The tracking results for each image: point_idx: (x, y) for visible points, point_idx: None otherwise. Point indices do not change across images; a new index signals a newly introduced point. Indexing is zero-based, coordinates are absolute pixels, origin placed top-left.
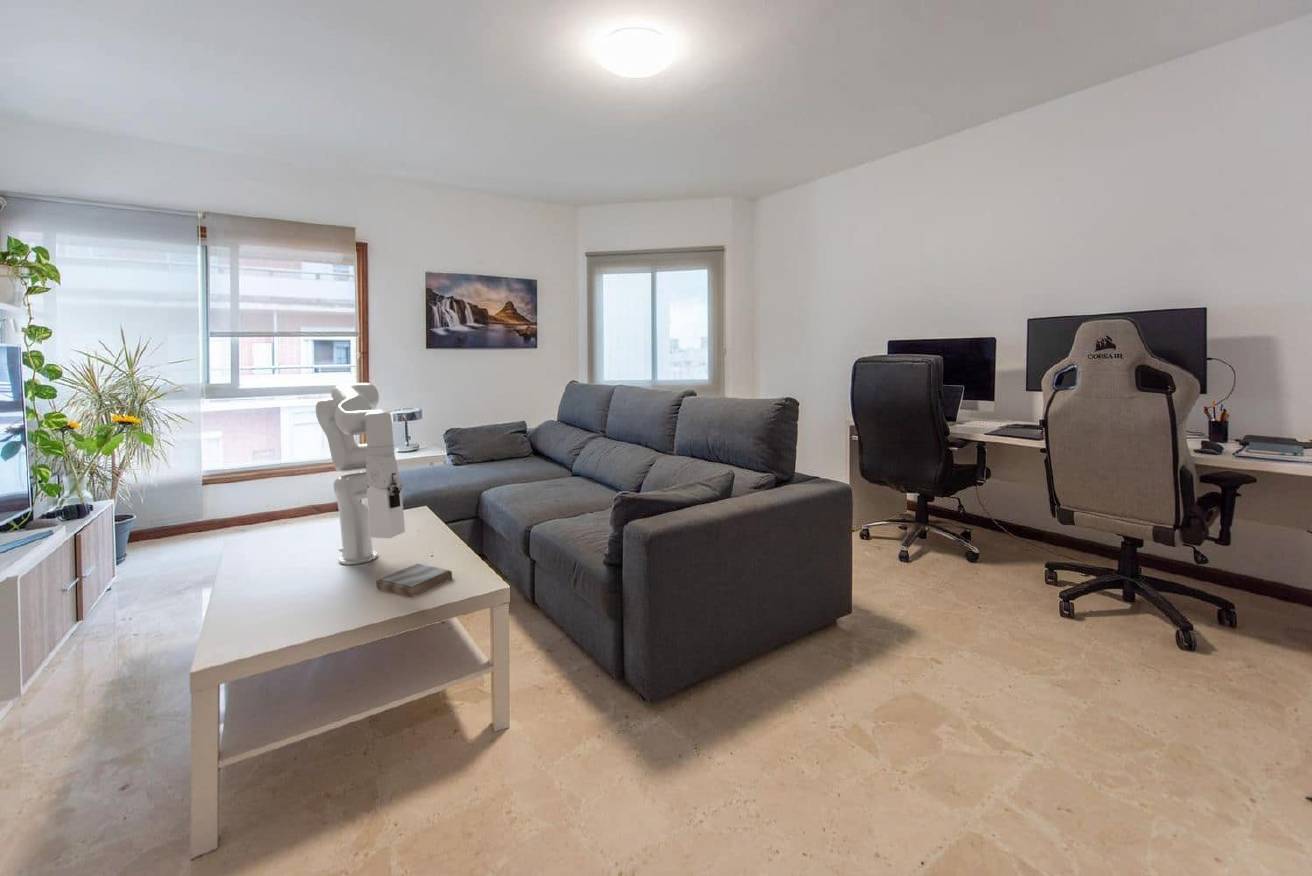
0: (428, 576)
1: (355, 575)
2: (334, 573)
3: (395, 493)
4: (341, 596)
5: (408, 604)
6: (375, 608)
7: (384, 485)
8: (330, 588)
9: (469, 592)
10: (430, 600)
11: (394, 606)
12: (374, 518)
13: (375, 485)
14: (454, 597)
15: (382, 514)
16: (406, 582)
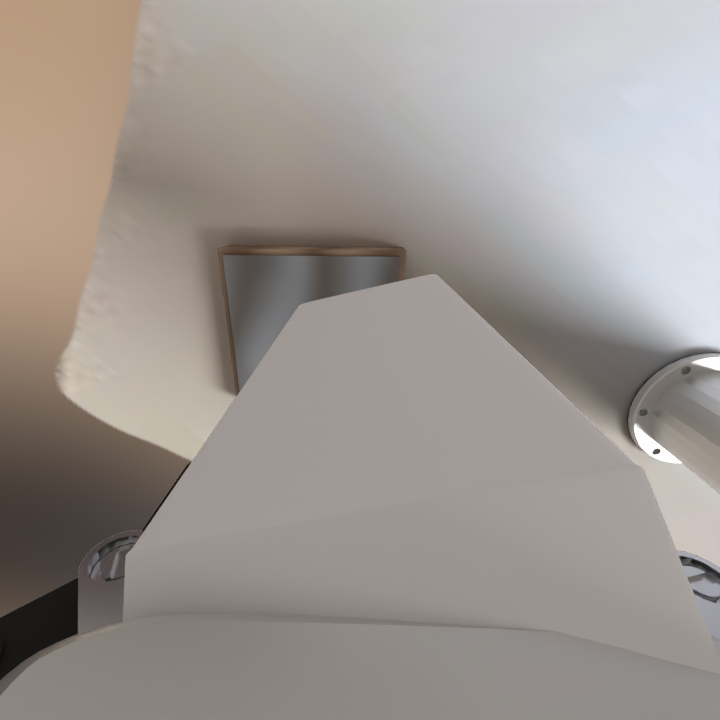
0: (255, 346)
1: (579, 301)
2: (675, 283)
3: (77, 585)
4: (465, 138)
5: (183, 195)
6: (251, 116)
7: (26, 714)
8: (572, 175)
9: (108, 345)
10: (151, 251)
11: (208, 161)
12: (409, 315)
13: (470, 686)
14: (110, 300)
15: (319, 347)
16: (274, 276)
